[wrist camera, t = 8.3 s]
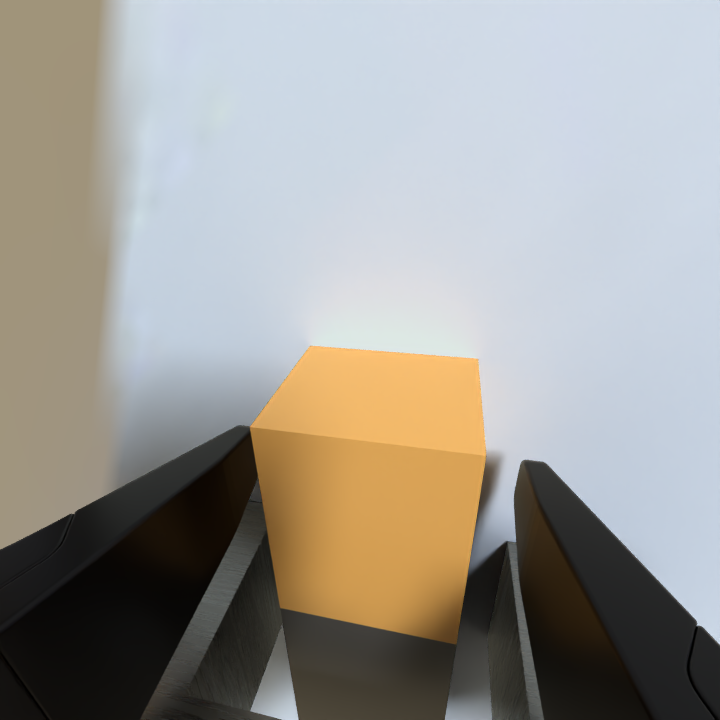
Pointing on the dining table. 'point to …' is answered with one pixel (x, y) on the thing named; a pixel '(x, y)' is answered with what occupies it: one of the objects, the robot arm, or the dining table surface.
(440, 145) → the dining table surface
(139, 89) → the dining table surface
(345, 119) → the dining table surface
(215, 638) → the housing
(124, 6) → the dining table surface
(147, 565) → the robot arm
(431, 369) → the plug
